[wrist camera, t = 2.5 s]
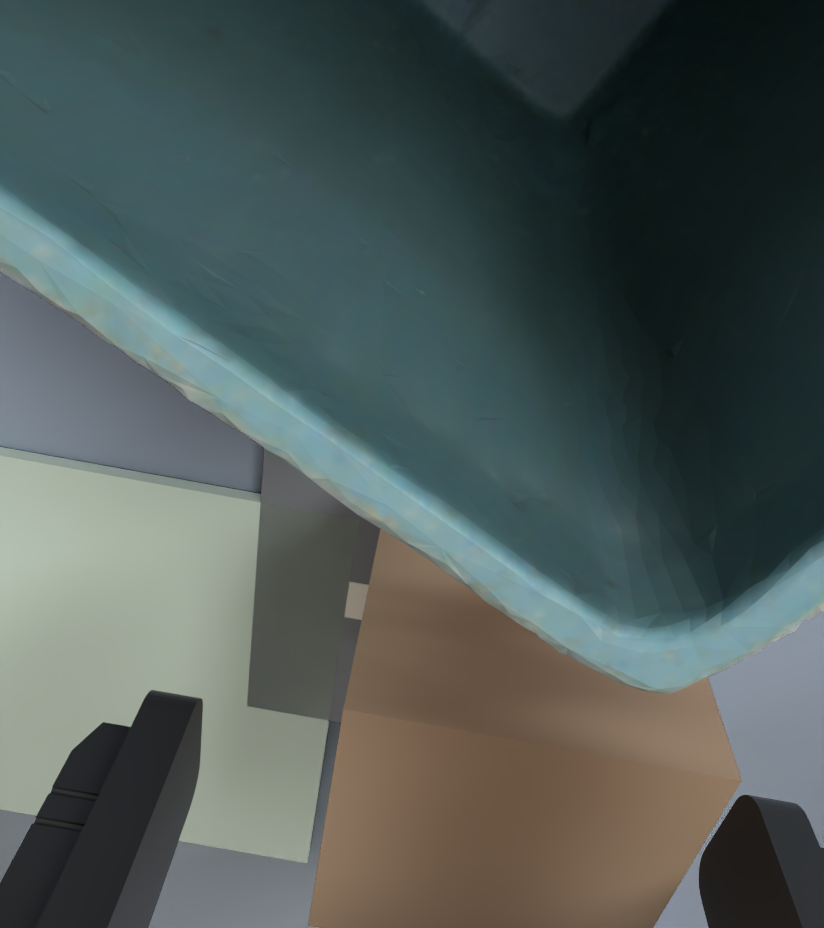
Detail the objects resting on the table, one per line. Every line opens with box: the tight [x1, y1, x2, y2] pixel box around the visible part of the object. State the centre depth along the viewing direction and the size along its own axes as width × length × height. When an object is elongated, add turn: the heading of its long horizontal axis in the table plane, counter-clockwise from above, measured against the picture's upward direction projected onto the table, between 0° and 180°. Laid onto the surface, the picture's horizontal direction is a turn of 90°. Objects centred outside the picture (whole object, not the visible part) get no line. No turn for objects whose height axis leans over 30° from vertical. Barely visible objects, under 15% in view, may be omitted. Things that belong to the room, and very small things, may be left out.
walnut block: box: [308, 529, 742, 928], centre depth 13 cm, size 5×5×6 cm
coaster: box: [0, 447, 359, 863], centre depth 19 cm, size 12×12×1 cm
